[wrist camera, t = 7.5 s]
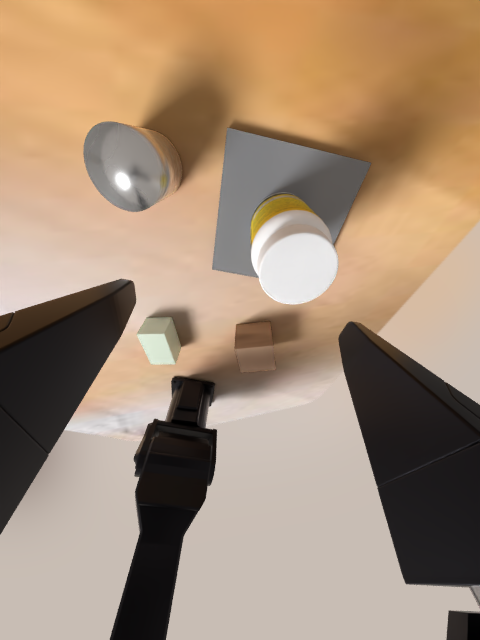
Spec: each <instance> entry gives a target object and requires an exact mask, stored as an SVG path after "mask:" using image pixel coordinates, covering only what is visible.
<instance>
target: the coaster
mask: <svg viewBox="0 0 480 640" xmlns="http://www.w3.org/2000/svg"><path fill="white" fill-rule="evenodd" d="M370 165H371V163H370V162H366V161H362V160H358V159H353V158H349V157H345V156H341V155H337V154H333V153H329V152H325V151H321V150H317V149H313V148H309V147H305V146H300V145H296V144H292V143H288V142H284V141H280V140H276V139H272V138H268V137H264V136H260V135H256V134H252V133H247V132H243V131H239V130H235V129H231V128H227V135H226V144H225V154H224V163H223V173H222V182H221V191H220V201H219V210H218V219H217V229H216V238H215V247H214V257H213V266H212V269H213V270H218V271H223V272H229V273H234V274H240V275H245V276H251V277H256V278H259V276H258V275H257V273H256V271H255V270H254V267H253V265H252V260H251V238H250V226H251V219H252V216H253V213H254V211H255V209H256V208H257V206H258V205H259V204H260V203H261V202H262V201H263V200H264V199H265V198H267V197H268V196H270V195H273V194H276V193H281V192H286V193H291V194H294V195H296V196H298V197H299V198H300V199H302V200H303V201H304V202H305V203H306V204H307V206H308V207H309V208H310V209H311V210H312V211H313V212H314V213H315V214H316V215H317V216H318V217H320V218H321V219H322V221H323V222H324V223H325V225H326V226H327V228H328V229H329V232H330V234H331V238H332V244H334V242H335V240H336V238H337V236H338V234H339V232H340V229H341V227H342V225H343V223H344V221H345V219H346V217H347V214H348V212H349V210H350V208H351V206H352V204H353V202H354V199H355V197H356V195H357V193H358V191H359V189H360V186H361V184H362V182H363V180H364V178H365V176H366V174H367V171H368V169H369V167H370Z"/></svg>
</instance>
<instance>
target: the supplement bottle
mask: <svg viewBox="0 0 480 640" xmlns="http://www.w3.org/2000/svg"><path fill="white" fill-rule="evenodd" d="M250 238H251V260H252V265H253V267H254V270H255V271H256V273H257V275H258V276H259V280H260V284H261V286H262V288H263V290H264V291H265V293H266V294H267V295H268V296H269V297H271V298H272V299H274V300H276V301H278V302H280V303H285V304H301V303H305V302H308V301H311V300H313V299H315V298H317V297H318V296H320V295H321V294H322V293H323V292H325V291H326V290H327V289H328V288H329V286H330V285H331V284H332V282H333V281H334V279H335V276H336V274H337V270H338V255H337V251H336V249H335V247H334V246H333V244H332V238H331V234H330V232H329V229H328V228H327V226H326V225H325V223H324V222H323V221H322V219H321V218H320V217H318V216H317V215H316V214H315V213H314V212H313V211H312V210H311V209H310V208H309V207H308V206H307V204H306V203H305V202H304V201H303V200H302V199H300V198H299V197H298V196H296V195H294V194H291V193H286V192H281V193H276V194H273V195H270V196H268V197H267V198H265V199H264V200H263V201H262V202H261V203H260V204H259V205H258V206H257V208H256V209H255V211H254V213H253V216H252V219H251V226H250Z"/></svg>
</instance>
